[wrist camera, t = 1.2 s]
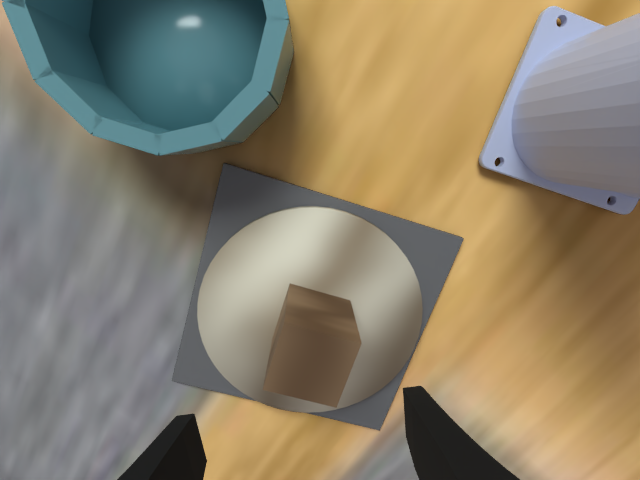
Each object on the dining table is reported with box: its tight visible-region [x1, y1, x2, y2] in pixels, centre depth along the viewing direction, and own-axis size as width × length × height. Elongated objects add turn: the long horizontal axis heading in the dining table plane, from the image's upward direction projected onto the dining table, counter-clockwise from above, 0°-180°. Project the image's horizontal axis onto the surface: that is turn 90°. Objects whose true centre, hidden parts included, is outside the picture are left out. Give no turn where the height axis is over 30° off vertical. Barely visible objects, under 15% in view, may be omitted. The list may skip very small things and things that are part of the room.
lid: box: [197, 206, 423, 413], centre depth 18 cm, size 13×13×5 cm
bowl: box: [2, 0, 294, 156], centre depth 15 cm, size 10×10×4 cm
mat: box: [172, 163, 464, 430], centre depth 21 cm, size 14×14×1 cm
